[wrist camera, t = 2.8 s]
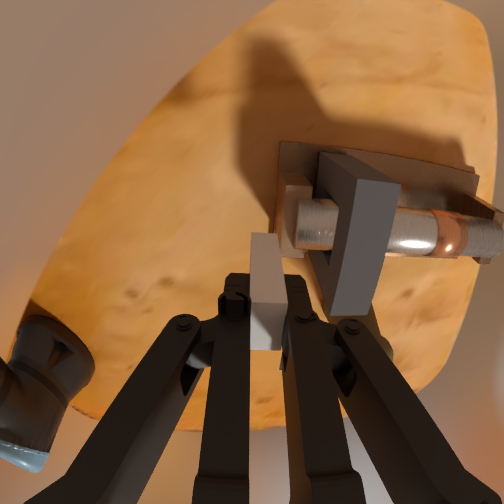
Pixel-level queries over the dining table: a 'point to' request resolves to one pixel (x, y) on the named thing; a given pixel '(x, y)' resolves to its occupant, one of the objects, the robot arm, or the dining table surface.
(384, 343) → the cork
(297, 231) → the pipe rig
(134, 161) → the dining table surface
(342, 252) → the collar
